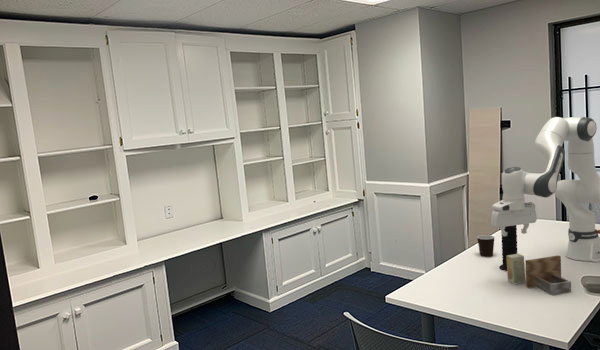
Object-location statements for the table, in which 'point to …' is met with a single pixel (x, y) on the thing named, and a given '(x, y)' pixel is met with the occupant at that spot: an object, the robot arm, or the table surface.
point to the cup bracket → (546, 275)
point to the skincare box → (515, 268)
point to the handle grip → (508, 244)
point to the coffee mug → (486, 245)
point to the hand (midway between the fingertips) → (514, 234)
